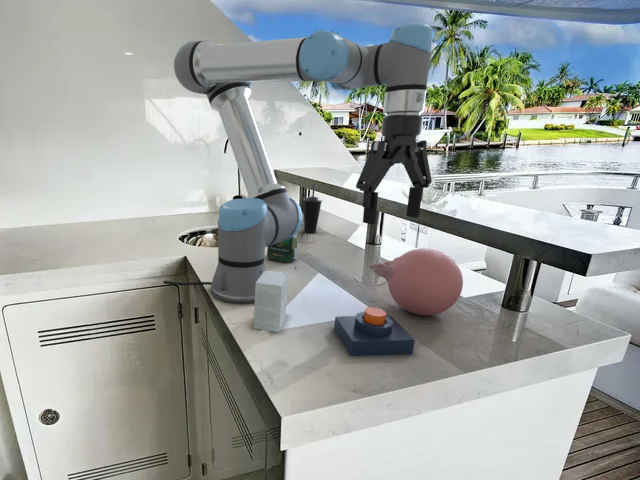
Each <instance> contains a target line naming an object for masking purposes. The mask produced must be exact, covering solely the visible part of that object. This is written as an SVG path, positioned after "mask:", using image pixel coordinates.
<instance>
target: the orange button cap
mask: <svg viewBox="0 0 640 480" xmlns="http://www.w3.org/2000/svg"><path fill="white" fill-rule="evenodd" d="M363 312H364V319H363V320H364V321H365V322H367V323H369V324H374V325H383V324H385V319H386V316H387V312H386V311H385V310H384V309H382V308H379V307H373V306H372V307H366V308H365V309H364V311H363Z"/></svg>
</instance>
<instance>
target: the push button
mask: <svg viewBox="0 0 640 480" xmlns="http://www.w3.org/2000/svg"><path fill="white" fill-rule="evenodd" d="M364 312H365V311H361V312H358V313H357V314H356V315H354V316H353V315H349V316H348V315H347V316H335V317H334V323H333V324H334V326H333V331H334V333H335V334H336V336H337V337H338V339H339V340H340V342H341V343H342V345H343V347H344V348H345V349H346V352H347V353H348V354H349V356H350V357H367V356H405V355H413V351H414V346H415V341H416V339H415V338H414V337H413V336H412V335H411V334H410V333H409V332H408V331H407V330H406V329H405V328H404V327H402V325H401V324H400V323H399V322H398V321H397V320H396V319H395V318H394V317H393V316H392V315H386V319H385V324H383V325H374V324H369V323H367V322H365V321H364V320H363V319H364Z"/></svg>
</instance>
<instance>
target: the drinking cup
mask: <svg viewBox="0 0 640 480" xmlns="http://www.w3.org/2000/svg"><path fill="white" fill-rule="evenodd" d="M315 191H316V184H315V183H313V184H312V193H311V194H312V195H311V196H307V197H304V198H303V232H304V233H305V234H306V233H307V234H315V233H316V232H317V227H318V222H319V216H320V211H321V206H322V202H323V199H322V198H320V197H317V196H315Z"/></svg>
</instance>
